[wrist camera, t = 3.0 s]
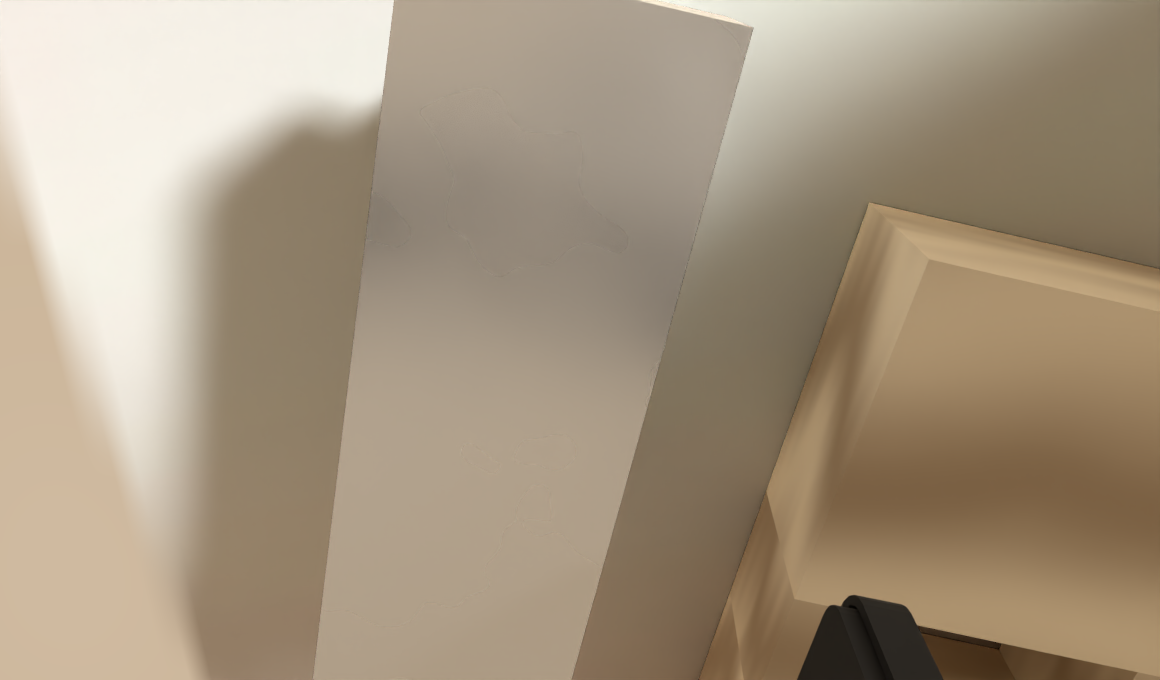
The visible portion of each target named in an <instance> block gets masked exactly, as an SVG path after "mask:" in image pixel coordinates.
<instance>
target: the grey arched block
mask: <svg viewBox="0 0 1160 680" xmlns="http://www.w3.org/2000/svg"><path fill="white" fill-rule="evenodd" d="M752 32H753V27H751V26H748V25H746V24H744V23H741V22H739V21H736V20H734V19H731V18H729V17H726V16H722V15H718V14H714V13H710V12H705V11H701V10H697V9H692V8H688V7H684V6H680V5H675V4H671V3H667V2H663V1H658V0H394V6H393V14H392V23H391V31H390V39H389V48H388V56H387V64H386V73H385V81H384V89H383V98H382V106H381V114H380V123H379V131H378V139H377V148H376V156H375V164H374V173H373V181H372V189H371V198H370V206H369V214H368V223H367V231H366V239H365V248H364V256H363V264H362V273H361V281H360V289H359V298H358V306H357V314H356V323H355V331H354V339H353V348H352V356H351V364H350V373H349V381H348V389H347V398H346V406H345V414H344V423H343V431H342V439H341V448H340V456H339V464H338V473H337V481H336V489H335V498H334V506H333V514H332V522H331V531H330V539H329V547H328V556H327V564H326V572H325V581H324V589H323V597H322V606H321V614H320V622H319V631H318V639H317V647H316V656H315V664H314V672H313V680H572V676H573V673H574V669H575V665H576V662H577V658H578V655H579V651H580V647H581V644H582V640H583V637H584V633H585V630H586V626H587V622H588V619H589V615H590V612H591V608H592V605H593V601H594V597H595V594H596V590H597V587H598V583H599V579H600V576H601V572H602V569H603V565H604V562H605V558H606V554H607V551H608V547H609V544H610V540H611V536H612V533H613V529H614V526H615V522H616V519H617V515H618V511H619V508H620V504H621V501H622V497H623V493H624V490H625V486H626V483H627V479H628V476H629V472H630V468H631V465H632V461H633V458H634V454H635V451H636V447H637V443H638V440H639V436H640V433H641V429H642V425H643V422H644V418H645V415H646V411H647V408H648V404H649V400H650V397H651V393H652V390H653V386H654V382H655V379H656V375H657V372H658V368H659V365H660V361H661V357H662V354H663V350H664V347H665V343H666V340H667V336H668V332H669V329H670V325H671V322H672V318H673V314H674V311H675V307H676V304H677V300H678V297H679V293H680V289H681V286H682V282H683V279H684V275H685V271H686V268H687V264H688V261H689V257H690V254H691V250H692V246H693V243H694V239H695V236H696V232H697V228H698V225H699V221H700V218H701V214H702V211H703V207H704V203H705V200H706V196H707V193H708V189H709V186H710V182H711V178H712V175H713V171H714V168H715V164H716V160H717V157H718V153H719V150H720V146H721V143H722V139H723V135H724V132H725V128H726V125H727V121H728V117H729V114H730V110H731V107H732V103H733V100H734V96H735V92H736V89H737V85H738V82H739V78H740V74H741V71H742V67H743V64H744V60H745V57H746V53H747V49H748V46H749V42H750V39H751V35H752Z"/></svg>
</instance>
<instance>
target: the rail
mask: <svg viewBox="0 0 1160 680" xmlns="http://www.w3.org/2000/svg"><path fill="white" fill-rule="evenodd" d="M851 595H858V596H863V597H868V598H873V599H878V600H883V601H888V602H893V603H898V604H902V605H904V606H906V607H907V608H908V610H909V611H910V612H911V614H912V616H913V618H914V620H915V622H916V624H917V625H918V626H923V627H928V628H933V629H937V630H942V631H947V632H951V633H956V634H961V635H965V636H970V637H975V638H979V639H984V640H989V641H994V642H998V643H1002V645H1001V647H1000V649H999V650H998V649H994V648H989V647H984V646H979V645H975V644H970V643H965V642H961V641H956V640H951V639H947V638H942V637H937V636H933V635H928V634H923V633H921V634H922V636H923V638H924V640H925V642H926V645H927V647H928V649H929V651H930V653H931V655H932V657H933V659H934V661H935V663H936V665H937V667H938V669H939V671H940V673H941V675H942V677H943V679H944V680H1160V269H1158V268H1153V267H1149V266H1145V265H1140V264H1136V263H1132V262H1127V261H1123V260H1119V259H1114V258H1110V257H1105V256H1101V255H1097V254H1092V253H1088V252H1084V251H1079V250H1075V249H1070V248H1066V247H1062V246H1057V245H1053V244H1049V243H1044V242H1040V241H1035V240H1031V239H1027V238H1022V237H1018V236H1014V235H1009V234H1005V233H1001V232H996V231H992V230H987V229H983V228H979V227H974V226H970V225H966V224H961V223H957V222H952V221H948V220H944V219H939V218H935V217H931V216H926V215H922V214H918V213H913V212H909V211H904V210H900V209H896V208H891V207H887V206H883V205H878V204H874V203H869V205H868V207H867V210H866V213H865V216H864V219H863V221H862V224H861V227H860V230H859V233H858V235H857V238H856V241H855V244H854V247H853V249H852V252H851V255H850V258H849V261H848V263H847V266H846V269H845V272H844V275H843V277H842V280H841V283H840V286H839V288H838V291H837V294H836V297H835V300H834V302H833V305H832V308H831V311H830V314H829V316H828V319H827V322H826V325H825V328H824V330H823V333H822V336H821V339H820V342H819V344H818V347H817V350H816V353H815V356H814V358H813V361H812V364H811V367H810V370H809V372H808V375H807V378H806V381H805V384H804V386H803V389H802V392H801V395H800V398H799V400H798V403H797V406H796V409H795V412H794V414H793V417H792V420H791V423H790V426H789V428H788V431H787V434H786V437H785V440H784V442H783V445H782V448H781V451H780V454H779V456H778V459H777V462H776V465H775V468H774V470H773V473H772V476H771V479H770V482H769V484H768V487H767V490H766V493H765V496H764V498H763V501H762V504H761V507H760V510H759V512H758V515H757V518H756V521H755V524H754V526H753V529H752V532H751V535H750V538H749V540H748V543H747V546H746V549H745V551H744V554H743V557H742V560H741V563H740V565H739V568H738V571H737V574H736V577H735V579H734V582H733V585H732V588H731V591H730V593H729V596H728V599H727V602H726V605H725V607H724V610H723V613H722V616H721V619H720V621H719V624H718V627H717V630H716V633H715V635H714V638H713V641H712V644H711V647H710V649H709V652H708V655H707V658H706V661H705V663H704V666H703V669H702V672H701V675H700V677H699V680H797V678H798V676H799V673H800V671H801V668H802V666H803V663H804V661H805V658H806V656H807V654H808V651H809V649H810V646H811V644H812V641H813V639H814V636H815V634H816V631H817V629H818V626H819V624H820V621H821V619H822V617H823V614H824V612H825V611H826V609H827V608H828V607H829V606H830V605H837V606H841V605H842V603H843V601H844V600H845V599H846V598H847V597H848V596H851Z"/></svg>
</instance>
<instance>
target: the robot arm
mask: <svg viewBox="0 0 1160 680" xmlns="http://www.w3.org/2000/svg"><path fill="white" fill-rule="evenodd" d="M797 680H944V679H943V677H942V675H941V673H940V671H939V669H938V667H937V665H936V663H935V661H934V659H933V657H932V655H931V653H930V651H929V649H928V647H927V645H926V642H925V640H924V638H923V636H922V634H921V632H920V630H919V628H918V626H917V624H916V622H915V620H914V618H913V616H912V614H911V612H910V611H909V610H908V608H907V607H906V606H904V605H902V604H898V603H893V602H888V601H883V600H878V599H873V598H868V597H863V596H858V595H851V596H848V597H847V598H846V599H845V600H844V601H843V603H842V605H841V606H837V605H830V606H829V607H828V608H827V609H826V611H825V612H824V614H823V617H822V619H821V621H820V624H819V626H818V629H817V631H816V634H815V636H814V639H813V641H812V644H811V646H810V649H809V651H808V654H807V656H806V658H805V661H804V663H803V666H802V668H801V671H800V673H799V676H798V678H797Z"/></svg>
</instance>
